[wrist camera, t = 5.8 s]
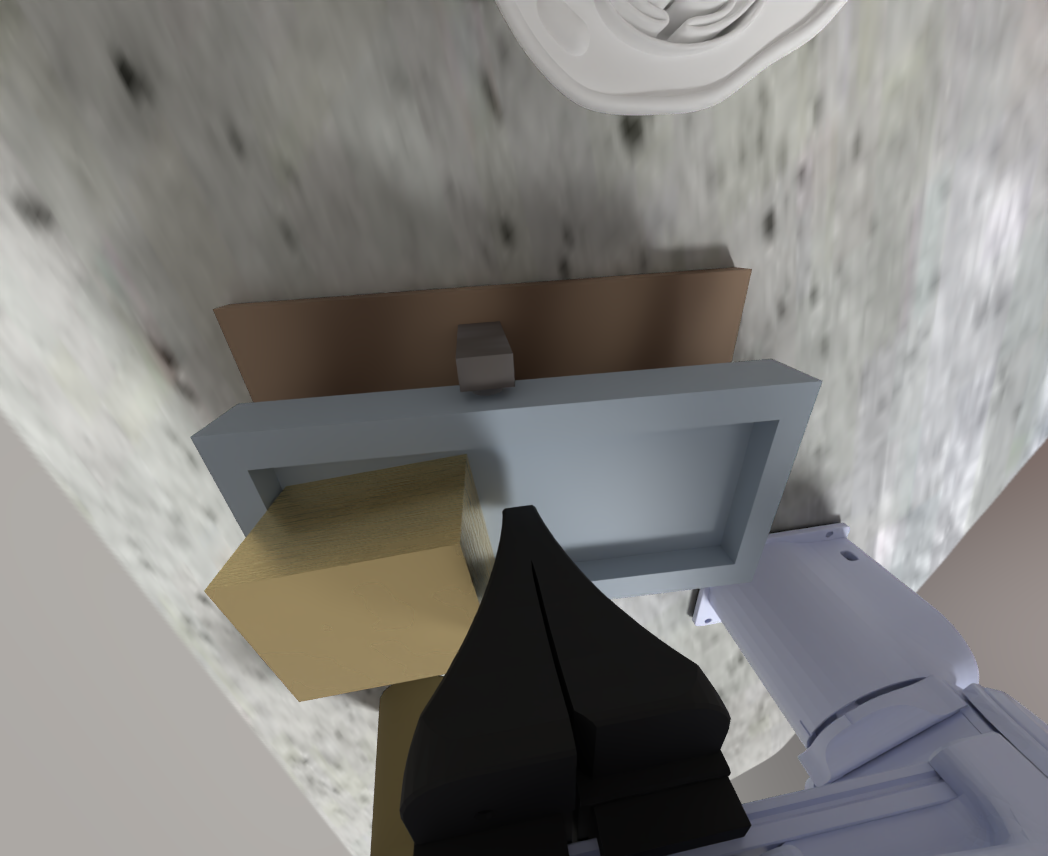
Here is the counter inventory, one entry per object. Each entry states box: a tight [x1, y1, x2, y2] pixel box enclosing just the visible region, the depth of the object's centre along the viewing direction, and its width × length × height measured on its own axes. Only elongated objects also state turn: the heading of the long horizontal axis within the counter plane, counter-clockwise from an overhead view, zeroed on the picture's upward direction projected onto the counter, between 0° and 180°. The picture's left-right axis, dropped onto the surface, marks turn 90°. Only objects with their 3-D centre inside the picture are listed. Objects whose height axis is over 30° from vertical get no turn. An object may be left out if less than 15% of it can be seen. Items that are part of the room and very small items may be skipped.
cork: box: [370, 676, 443, 856], centre depth 22 cm, size 6×6×11 cm
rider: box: [204, 454, 495, 702], centre depth 11 cm, size 6×5×4 cm
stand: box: [213, 267, 752, 402], centre depth 15 cm, size 20×14×5 cm
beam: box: [191, 359, 822, 599], centre depth 13 cm, size 18×9×2 cm, turn 93°
